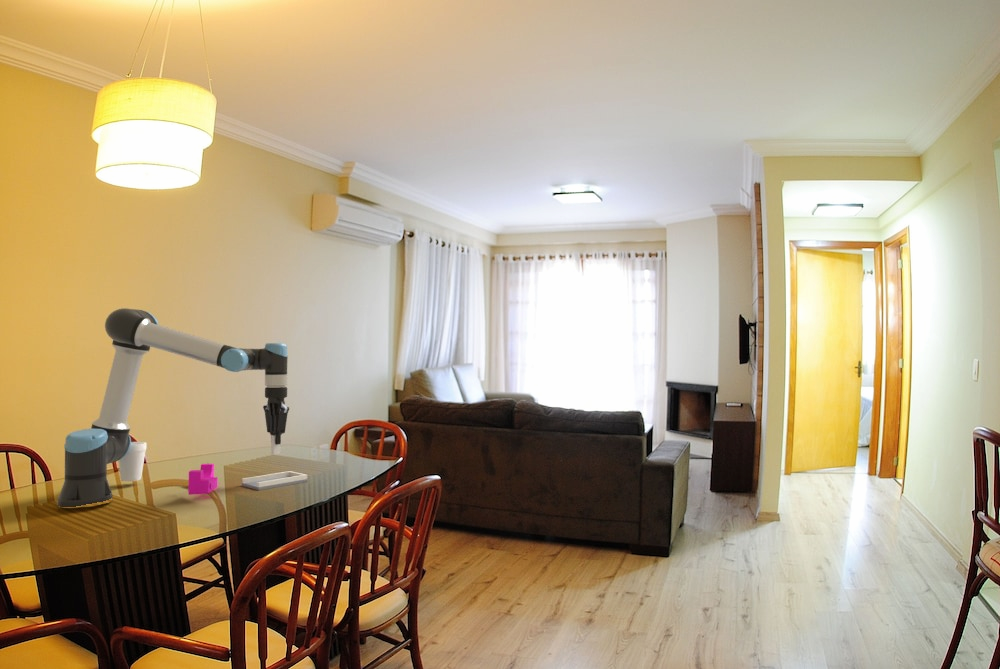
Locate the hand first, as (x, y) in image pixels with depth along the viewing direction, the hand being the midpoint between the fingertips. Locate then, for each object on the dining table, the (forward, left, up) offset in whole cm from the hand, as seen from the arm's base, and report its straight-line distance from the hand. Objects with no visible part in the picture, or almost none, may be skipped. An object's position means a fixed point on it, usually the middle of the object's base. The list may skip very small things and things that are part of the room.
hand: (275, 453), depth 238 cm
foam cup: (-30, +45, -11) cm, 56 cm away
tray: (0, 0, -11) cm, 11 cm away
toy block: (-20, +10, -11) cm, 25 cm away
